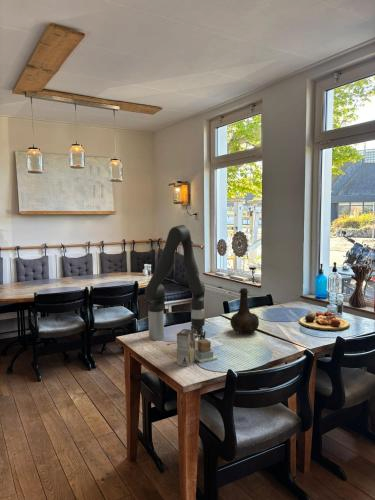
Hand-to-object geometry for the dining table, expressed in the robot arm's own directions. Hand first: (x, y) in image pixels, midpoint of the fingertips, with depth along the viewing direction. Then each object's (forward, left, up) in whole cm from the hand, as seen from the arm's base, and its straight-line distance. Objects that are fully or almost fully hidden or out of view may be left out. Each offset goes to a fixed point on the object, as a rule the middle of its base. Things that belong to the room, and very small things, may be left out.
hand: (198, 346), depth 213 cm
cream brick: (0, 0, -1) cm, 1 cm away
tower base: (+15, -4, -1) cm, 16 cm away
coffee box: (+16, -15, -1) cm, 22 cm away
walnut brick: (+15, -4, +3) cm, 16 cm away
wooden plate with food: (-2, +96, -2) cm, 96 cm away
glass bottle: (-12, +39, -1) cm, 41 cm away
